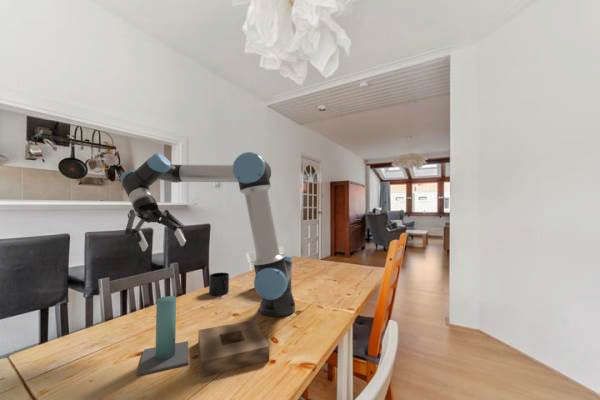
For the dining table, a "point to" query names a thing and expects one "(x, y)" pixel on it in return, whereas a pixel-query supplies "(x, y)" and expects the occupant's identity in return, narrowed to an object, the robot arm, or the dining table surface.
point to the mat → (153, 365)
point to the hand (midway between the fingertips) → (166, 246)
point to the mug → (218, 284)
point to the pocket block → (231, 347)
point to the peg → (165, 328)
